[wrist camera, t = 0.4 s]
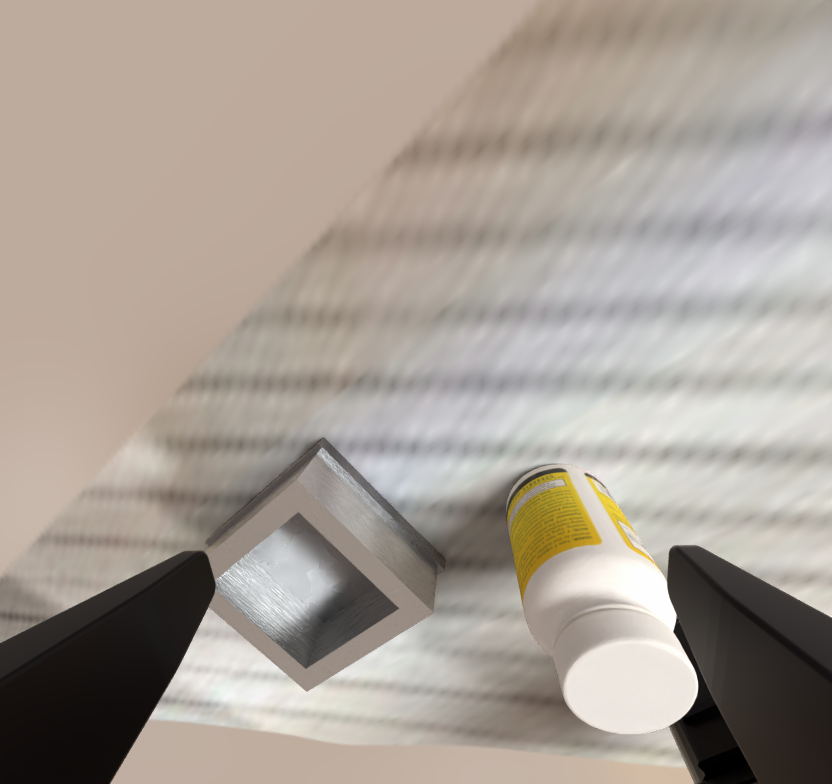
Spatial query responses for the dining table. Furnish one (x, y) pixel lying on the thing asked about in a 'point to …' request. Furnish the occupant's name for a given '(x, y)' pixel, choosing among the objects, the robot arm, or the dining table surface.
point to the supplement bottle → (597, 603)
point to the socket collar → (321, 569)
